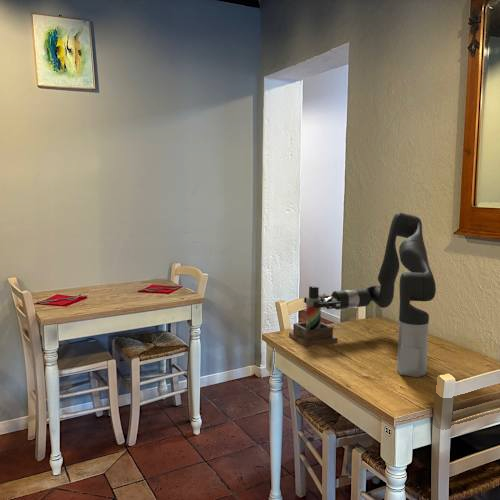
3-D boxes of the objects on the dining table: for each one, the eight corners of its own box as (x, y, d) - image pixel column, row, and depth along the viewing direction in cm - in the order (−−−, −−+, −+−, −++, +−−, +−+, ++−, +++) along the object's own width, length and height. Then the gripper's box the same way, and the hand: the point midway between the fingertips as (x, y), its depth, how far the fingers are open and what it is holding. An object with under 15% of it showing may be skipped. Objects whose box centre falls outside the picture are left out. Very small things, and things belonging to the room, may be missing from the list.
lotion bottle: (303, 335, 194) (303, 286, 191) (311, 332, 198) (312, 284, 195) (314, 338, 190) (315, 288, 187) (323, 335, 194) (323, 286, 192)
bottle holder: (337, 341, 191) (337, 328, 190) (306, 346, 185) (306, 332, 184) (318, 331, 203) (318, 319, 203) (289, 336, 198) (289, 323, 197)
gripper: (337, 286, 203) (301, 289, 198) (354, 294, 189) (316, 297, 184) (336, 304, 204) (301, 307, 199) (354, 312, 190) (316, 316, 185)
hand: (308, 302), depth 192 cm, fingers open, 8 cm apart
